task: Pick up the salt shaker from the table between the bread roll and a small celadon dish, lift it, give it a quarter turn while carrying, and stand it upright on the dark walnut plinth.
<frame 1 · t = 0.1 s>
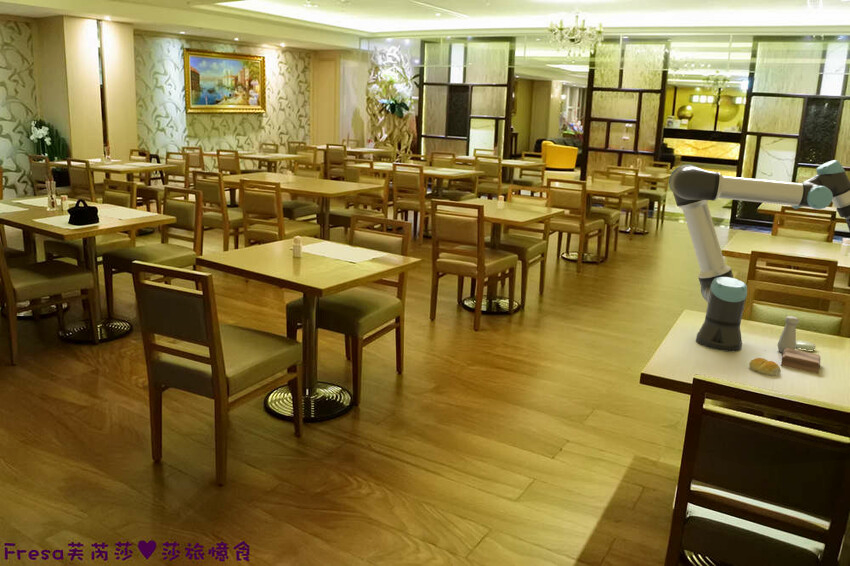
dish: (803, 348, 254), on the table
bread roll: (763, 372, 226), on the table
salt shaker: (785, 352, 247), on the table
stand: (799, 365, 234), on the table
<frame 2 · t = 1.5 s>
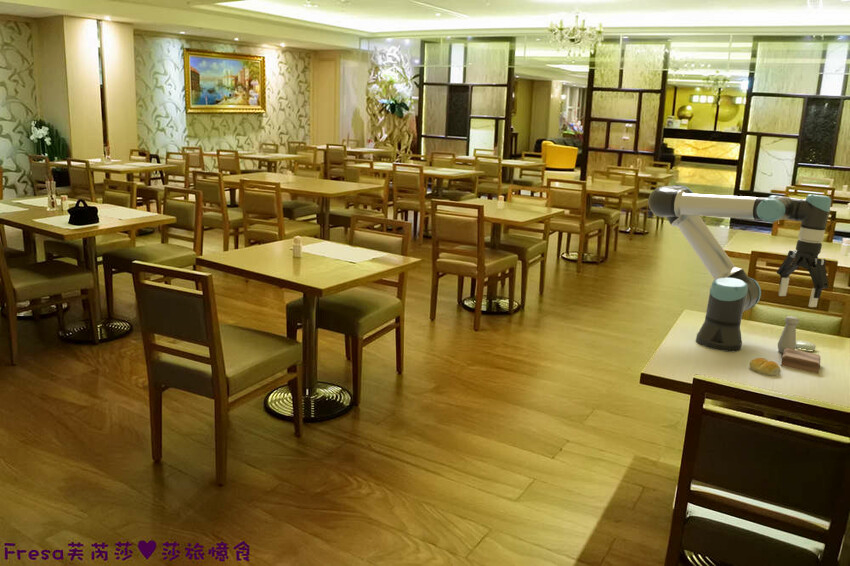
hand: (796, 301, 243), 19 cm above the table, tool pointing down, fingers open, 13 cm apart
nothing on the table moved.
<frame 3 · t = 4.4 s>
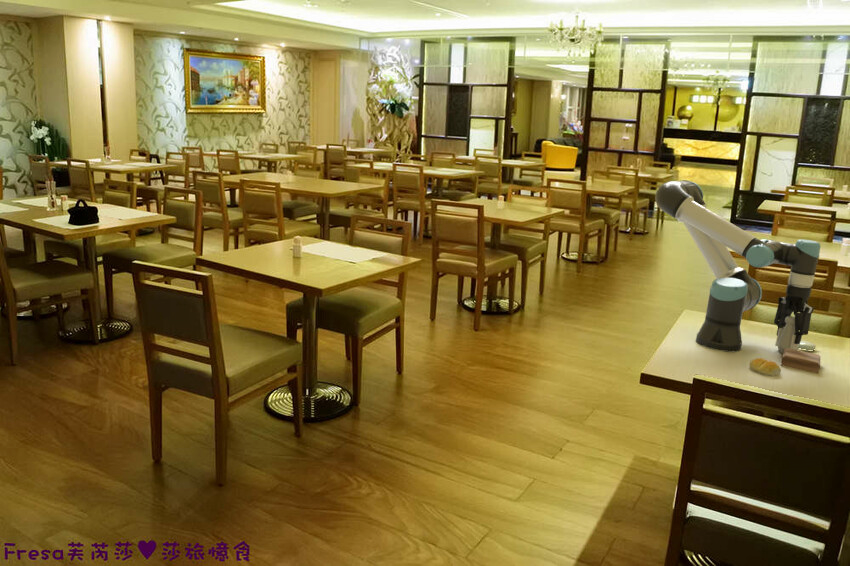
hand: (785, 348, 246), 1 cm above the table, tool pointing down, fingers closed on salt shaker, 6 cm apart
salt shaker: (785, 352, 247), on the table, touching gripper
everything else where it was.
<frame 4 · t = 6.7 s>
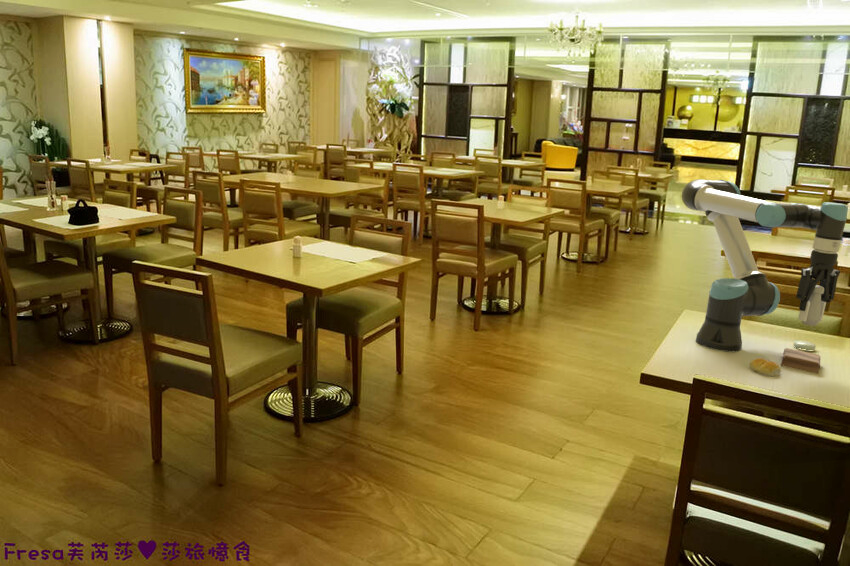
hand: (809, 320, 231), 16 cm above the table, tool pointing down, fingers closed on salt shaker, 6 cm apart
salt shaker: (809, 324, 231), point 14 cm above the table, touching gripper
everything else where it was.
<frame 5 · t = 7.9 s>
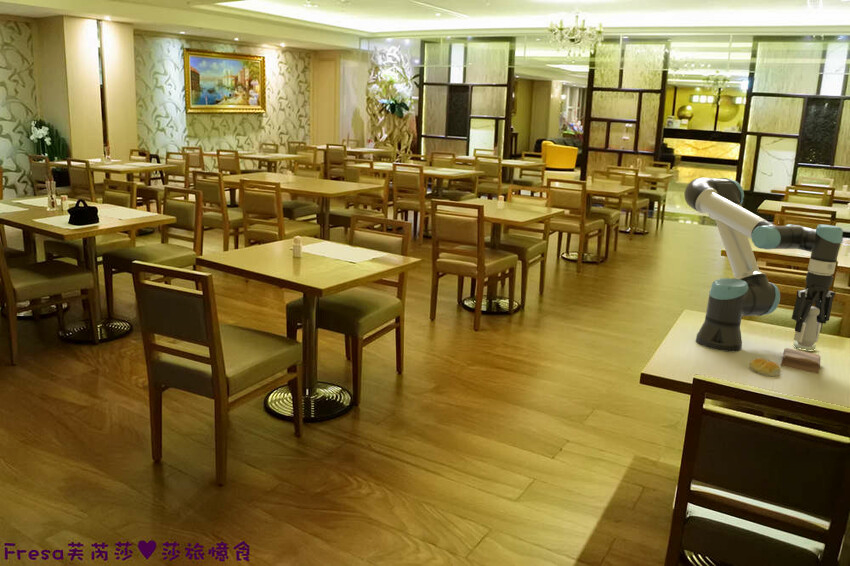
hand: (805, 340, 232), 9 cm above the table, tool pointing down, fingers closed on salt shaker, 6 cm apart
salt shaker: (804, 345, 232), point 7 cm above the table, touching gripper
everything else where it was.
when the fingers open (6 cm above the table, at t = 9.1 s): salt shaker drops 1 cm, resting on stand.
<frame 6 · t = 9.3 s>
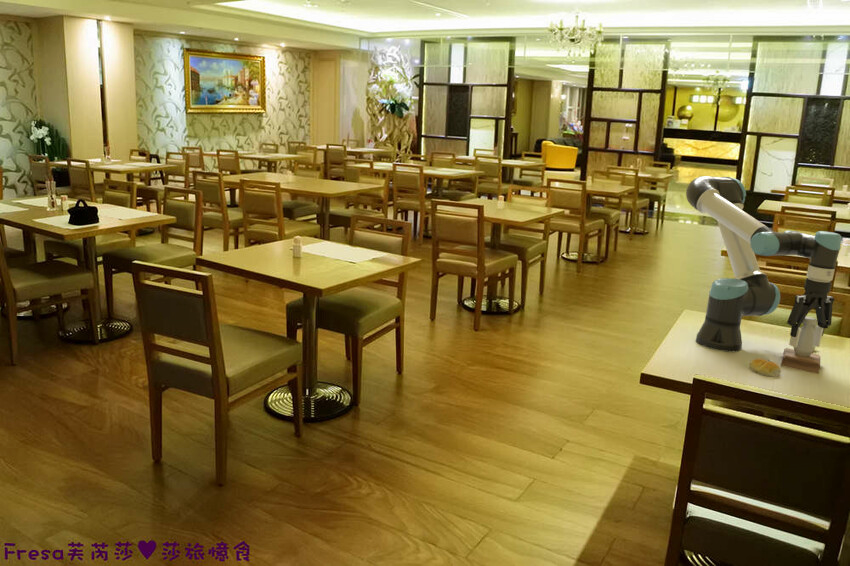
hand: (804, 345, 233), 7 cm above the table, tool pointing down, fingers open, 8 cm apart
salt shaker: (801, 355, 233), point 3 cm above the table, touching stand
everything else where it was.
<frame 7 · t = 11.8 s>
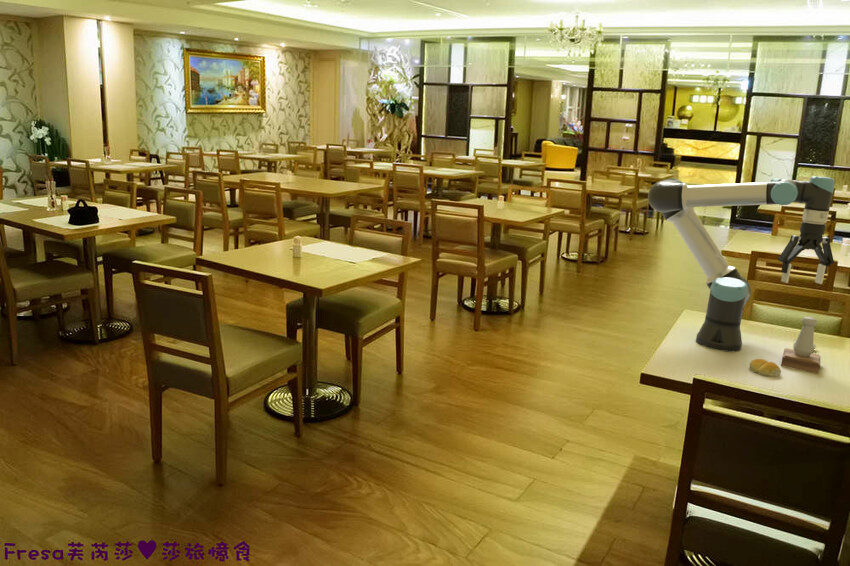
hand: (801, 282, 245), 25 cm above the table, tool pointing down, fingers open, 13 cm apart
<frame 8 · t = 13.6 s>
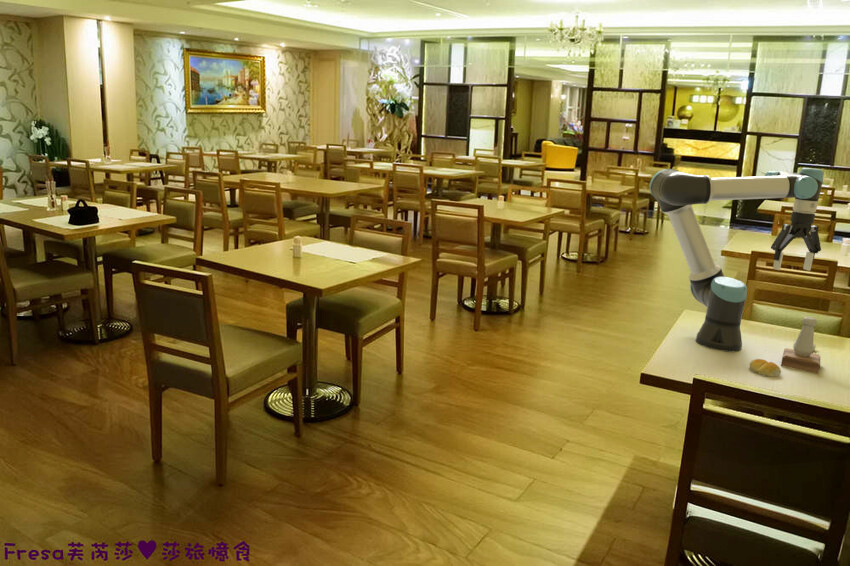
hand: (791, 269, 256), 27 cm above the table, tool pointing down, fingers open, 13 cm apart
at the end: salt shaker inside the target area on the stand (0.0 cm from its centre), point 3.3 cm above the stand's base; salt shaker tilted 0°; the gripper is holding nothing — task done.
